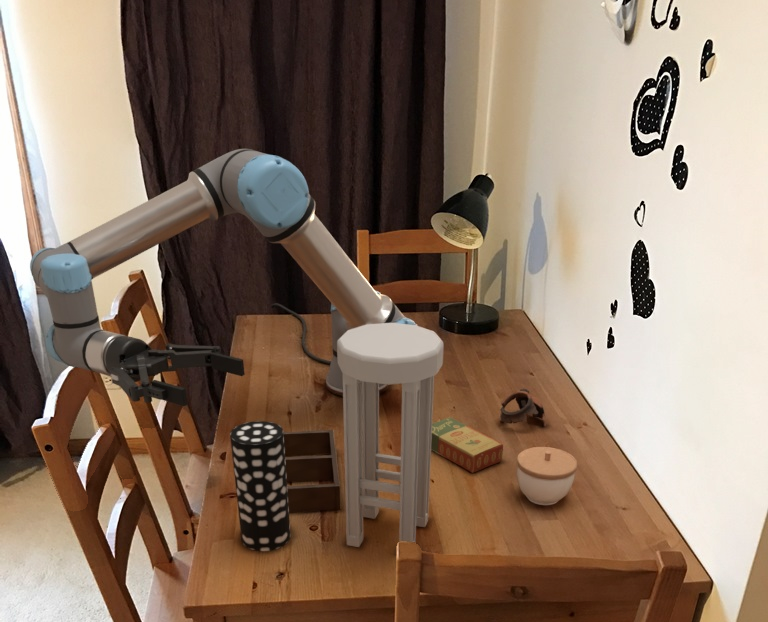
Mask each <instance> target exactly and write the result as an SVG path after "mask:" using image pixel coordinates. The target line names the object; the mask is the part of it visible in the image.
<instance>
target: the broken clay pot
mask: <svg viewBox="0 0 768 622" xmlns="http://www.w3.org/2000/svg"><path fill="white" fill-rule="evenodd" d="M513 400H515V401H516V404H517V405H518V408H519V409H518V410H516V411H507V410H506V409H505V408H506V406H507V405H508V404H509V403H510V402H513ZM500 404H501V408H500V409H499V410H500V422H501V423H506V424H517V423H520V422H521V423H522V422H523V423H525V424H526V423H528V421H527V418H528V417H527V415H531V416H532V418H539V419H540V420H541V421H542V427H544V428H545V427H546V425H547V422H546V413H545V409H544V407H543V404H542V403H541V401H540V400H539V399H538V398H537V397H536V396H534V395H531V393H530V391H529V389H528V388H526V387H524V388H521V389H520V390H518V391H515V392H511V393H510V394H508V395H506V397H505V398H504V399H503V400H502V401H501V403H500Z"/></svg>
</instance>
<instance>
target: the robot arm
mask: <svg viewBox="0 0 768 622" xmlns="http://www.w3.org/2000/svg"><path fill="white" fill-rule="evenodd" d="M309 190H310V189H309V186H308V183H307V180H306V178H305V176H304V175H303V173H302V172H301V171H300V169H299V168H298V167H296V165H294V164H293V163H292V162H291V161H289V160H287V159H285V158H283V157H281V156H279V155H273V154H269V153H264V152H260V151H258V150H255V149H251V148H238V149H235V150H231V151H229V152H227V153H225V154H223V155H221V156H218V157H217V158H215V159H213V160H211V161H208V162H207V163H205V164H203V165H201V166H200V167H198V168H196V169H194V170H192V171H190V172H189V173H188V178H187V180H185V181H183V182H181V183H180V184H178V185H176V186H174V187H172V188H170V189H168V190H166V191H164V192H162V193H160V194H159V195H156V196H155V197H153V198H150V199H148V200H147V201H145V202H142V203H141V204H139V205H137V206H135V207H133V208H131V209H130V210H128V211H126V212H125V211H124V213H122V214H120V215H118V216H116V217H113V218H112V219H109V220H108V221H106V222H104V223H102V224H100V225H98V226H96V227H95V228H92V229H90V230H88V231H87V232H85V233H82V234H81V235H79V236H77V237H75V238H73V239H71V240H70V241H67V242H65V243H63V244H60V245H59V246H57V247H44V248H41V249H39V250H37V251H36V252H35V253H34V254H33V256H32V257H31V259H30V262H29V270H30V275H31V276H32V280H33V282H34V283H35V285H36V286H37V287H39V289H40V290H41V292H42V293H43V294H44V296H45V297H46V299H47V303H48V306H49V309H50V314H51V318H52V323H53V324H52V325H50V326H49V328H48V329H47V332H46V337H45V338H46V339H45V341H44V344H45V349H46V350H47V353H48V355H50V357H51V358H52V359H54V360H55V361H57V362H60V363H62V364H65V365H66V366H68V367H72V368H78V369H82V370H86V371H90V372H93V373H97V374H101V375H104V376H108V377H110V378H111V381H112V384H113V385H115V386H119V387H120V388H121V389H122V391H123V392H124V394H125V395H126V396H127V397H128V398H129V399H130V400H131V402H134V403H135V402H140V401H141V398H143V401H144V403H147V404H150V403H152V402H153V399H156V400H159V401H161V400H162V401H165V402H169V403H172V404H175V405H178V406H181V407H186V406H187V405H189V403H188V398H187V397H188V396H187V390H186V388H185V387H182V386H179V385H175V384H171V383H168V382H165V381H160V380H157V379H153V380H150V379H149V377H150V378H151V377H156V376H158V375H159V374H161V373H169V372H176V371H177V370H178V369H189V368H202V367H203V368H205V367H211V369H213V370H215V371H220V372H223V373H228V374H232V375H236V376H239V377H243V376H245V373H246V372H245V365H244V358H243V359H241V358H239V357H235V356H230V355H227V354H222V350H221V346H219V345H183V344H174V343H167V344H165V345H164V346H165V349H161V350H160V349H157V348H156V349H154V348H153V349H152V348H151V346H149V344H148V343H147V342H145V340H143V339H140V338H137V337H133V336H129V335H125V334H121V333H117V332H113V331H108V330H104V329H102V328H101V327H102V326H101V323H100V317H99V314H98V308H97V302H96V297H95V291H94V286H93V281H92V280H93V279H95V278H98V277H99V276H101V275H103V274H105V273H106V272H108V271H110V270H112V269H114V268H116V267H118V266H120V265H122V264H124V263H126V262H127V261H129V260H132V259H133V258H135V257H137V256H139V255H141V254H142V253H144V252H146V251H148V250H150V249H152V248H155V247H156V246H158V245H160V244H162V243H163V242H165V241H167V240H170V239H171V238H173V237H175V236H176V235H179V234H180V233H182V232H184V231H186V230H188V229H191V228H192V227H194V226H196V225H198V224H199V223H201V222H203V221H205V220H207V219H210V220H213V221H217V220H219V219H221V218H223V217H225V216H228V215H233V214H241V215H243V216H245V217H246V218H247V219H248V220H249V221H250V223H252V224H253V226H254V227H255V228H256V229H257V230H258V232H260V233H261V235H262V236H263V237H264V238H265V240H267V241H268V242H269V243H271V244H280V245H281V246H282V247H283V248H284V249H285V251H287V253H288V254H289V255H290V256H291V257H292V259H293V260H294V261H295V262H296V263H297V265H298V266H299V267H300V268H301V269H302V271H303V272H304V273H305V274H306V275H307V276H308V278H309V279H310V280H311V281H312V282H313V283H314V284H315V286H316V287H317V288H318V290H320V292H322V294H323V295H324V296H325V298H327V300H329V302H330V303H331V304H330V311H329V312H330V318H331V321H330V323H331V346H332V357H331V360H327V359H324V358H320V357H319V356H316V355H314V354H312V353H311V352H310V351H309V350H308V348H307V346H306V334H307V324H306V321H305V319H304V318H303V317H302V316H301V315H300V314H299V313H298V312H297V313H296V312H295V311H293V310H291V309H289V308H287V307H286V306H284V305H283V304H280V303H277V302H275V303H272V304H271V305H270V309H274V308H275V307H279V308H281V309H282V310H284V311H286V312H287V313H289V314H290V315H293V316H294V317H296V318H297V319H299V320H300V322H301V323H302V334H301V346H302V348H303V351H304V352H305V354H306V355H307V356H308V357H310V358H311V359H313V360H315V361H316V362H320V363H323V364H326V365H329V370H328V372H327V374H326V377H325V387H326V389H327V390H328V391H329V392H330V393H332V394H333V395H336V396H339V397H343V373H342V371H341V369H340V367H339V365H338V359H337V341H338V340H339V339H340V338H341V337H342V336H343V335H344V334H345V333H346V332H347V331H348V330H350V329H354V328H357V327H360V326H364V325H367V324H380V323H400V324H409V325H417V326H419V325H418V324H417V323H415V321H414V320H413V319H411V318H408V317H406V315H404V314H403V313H402V312H401V310H400V309H399V308H398V307H397V305H396V303H394V301H393V300H392V299H391V298H390V297H389V296H388V295H386V294H381V292H379V291H378V290H375V289H374V288H373V287H372V285H371V284H370V283H369V281H368V280H367V279H366V278H365V276H364V275H363V273H361V271H360V270H359V268H358V267H357V266H356V265H355V263H354V262H353V261H352V260H351V258H350V257H349V256H348V255H347V253H346V252H345V251H344V250H343V248H342V247H341V245H340V244H339V243H338V241H336V239H335V237H333V236H332V234H331V233H330V231H329V230H328V229H327V227H326V226H325V225H324V223H322V221H321V220H320V219H319V217H318V216H317V215H316V214H315V211H316V201H315V199H314V198H313V196H312V195H311V194H310V191H309ZM169 360H170V364H171V365H169ZM138 382H140V385H138V384H137V383H138ZM389 385H390V384H389ZM389 385H388V384H380V383H379V395H380V394H382V393H384V392H386V391H387V390H388V389H389Z"/></svg>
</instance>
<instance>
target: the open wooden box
mask: <svg viewBox="0 0 768 622" xmlns="http://www.w3.org/2000/svg"><path fill="white" fill-rule="evenodd" d="M334 432H335V431H334V429H326V430H325V429H322V430H302V431H301V430H300V431H283V433H284V448H285V462H286V477H287V483H298V482H299V483H301V482H319V481H320V482H321V481H322V482H323V481H332V483H323V484H305V485H304V484H301V485H287V491H288V505H289V513H301V512H302V513H303V512H320V511H335V510H336V511H338V510H341V484H340V476H339V467H338V458H337V450H336V449H337V448H336V441H335V440H336V439H335V433H334Z"/></svg>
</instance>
